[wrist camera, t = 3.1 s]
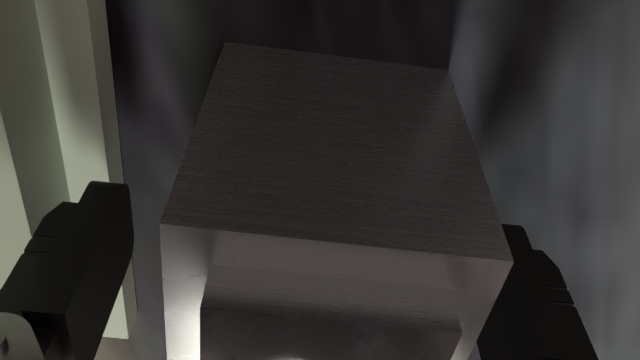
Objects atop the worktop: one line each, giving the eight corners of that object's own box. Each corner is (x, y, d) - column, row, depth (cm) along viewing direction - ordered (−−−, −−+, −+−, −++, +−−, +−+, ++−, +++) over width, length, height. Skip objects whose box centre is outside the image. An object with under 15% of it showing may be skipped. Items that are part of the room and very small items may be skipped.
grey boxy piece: (448, 68, 13) (529, 305, 8) (386, 279, 17) (410, 527, 12) (225, 40, 13) (144, 266, 7) (218, 262, 17) (164, 509, 11)
